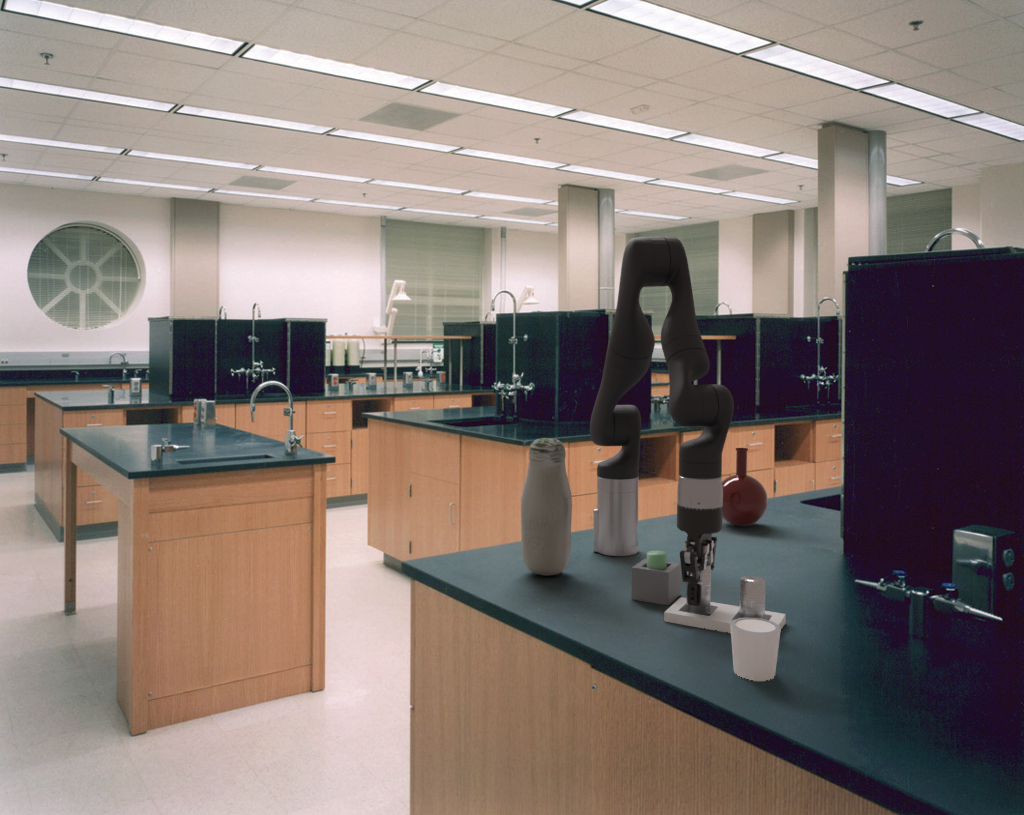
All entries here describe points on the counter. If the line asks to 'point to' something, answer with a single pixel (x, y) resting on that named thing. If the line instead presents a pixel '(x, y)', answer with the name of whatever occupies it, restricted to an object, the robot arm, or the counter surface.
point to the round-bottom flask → (743, 495)
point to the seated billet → (752, 597)
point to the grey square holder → (656, 583)
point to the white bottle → (546, 509)
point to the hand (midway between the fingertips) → (698, 600)
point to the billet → (702, 594)
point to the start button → (657, 560)
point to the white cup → (755, 648)
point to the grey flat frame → (713, 616)
